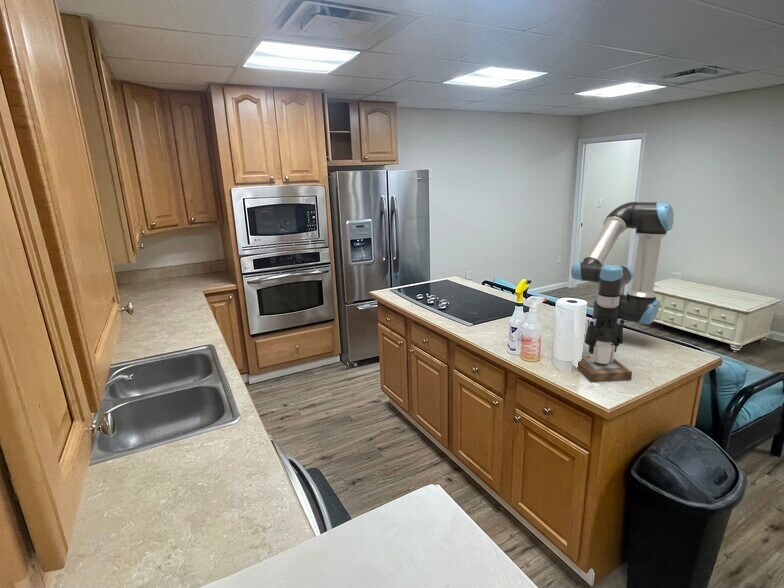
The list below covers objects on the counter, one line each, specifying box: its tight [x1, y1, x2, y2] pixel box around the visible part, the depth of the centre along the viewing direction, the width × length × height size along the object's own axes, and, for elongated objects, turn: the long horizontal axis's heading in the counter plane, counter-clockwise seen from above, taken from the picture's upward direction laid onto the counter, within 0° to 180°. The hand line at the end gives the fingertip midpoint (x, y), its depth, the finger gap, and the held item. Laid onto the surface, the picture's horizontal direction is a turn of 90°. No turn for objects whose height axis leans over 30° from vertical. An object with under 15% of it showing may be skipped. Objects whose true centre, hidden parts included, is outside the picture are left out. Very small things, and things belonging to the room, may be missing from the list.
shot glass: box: [595, 341, 613, 364], centre depth 168 cm, size 7×7×7 cm
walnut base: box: [576, 355, 633, 383], centre depth 169 cm, size 16×16×4 cm
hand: (601, 360), depth 169 cm, fingers closed on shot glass, 7 cm apart
